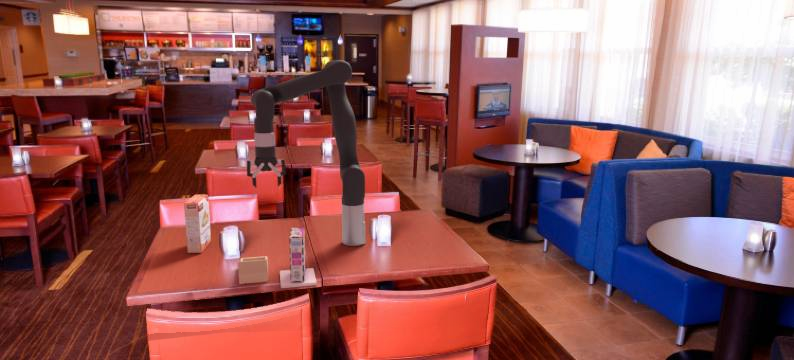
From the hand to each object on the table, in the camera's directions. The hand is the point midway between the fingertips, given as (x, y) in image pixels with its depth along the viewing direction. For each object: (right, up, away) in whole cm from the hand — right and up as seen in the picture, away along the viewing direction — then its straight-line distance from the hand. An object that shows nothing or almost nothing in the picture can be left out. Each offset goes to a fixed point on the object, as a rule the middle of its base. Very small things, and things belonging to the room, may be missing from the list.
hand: (267, 186), depth 203 cm
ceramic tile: (+15, -32, -15) cm, 39 cm away
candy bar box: (+15, -32, -15) cm, 38 cm away
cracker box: (-31, -25, +15) cm, 43 cm away
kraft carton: (-2, -31, -9) cm, 33 cm away
